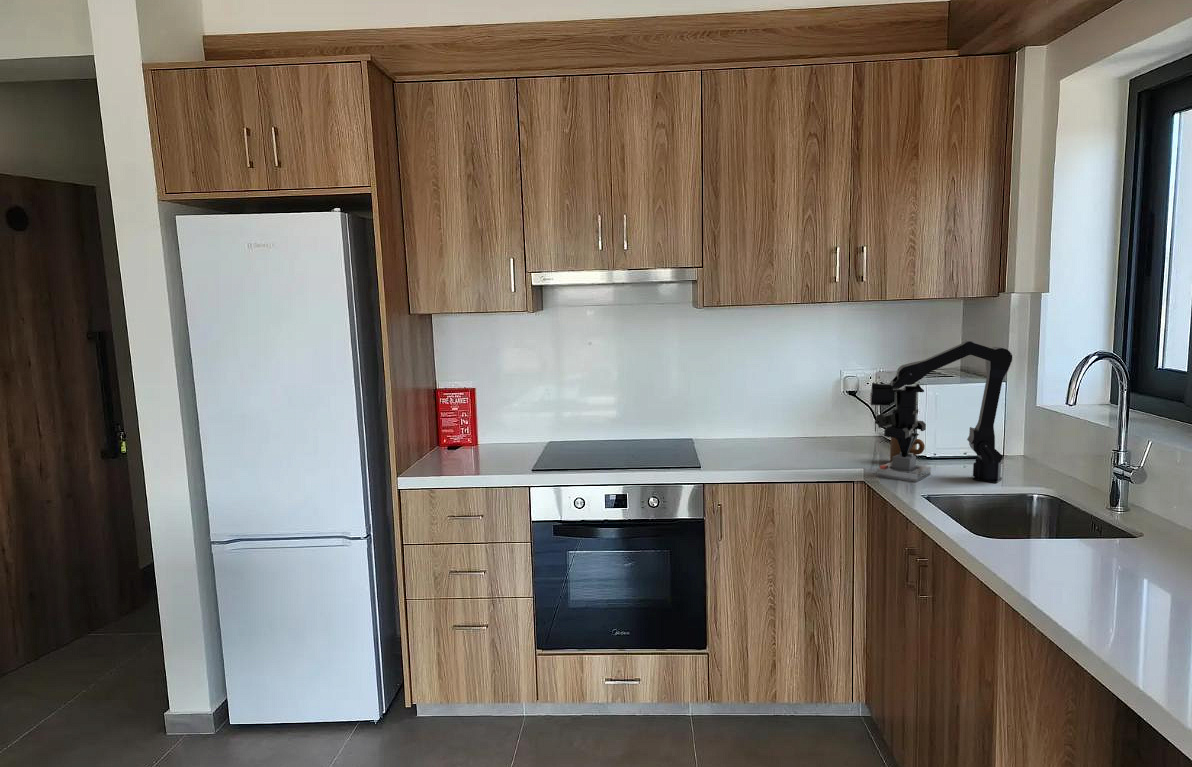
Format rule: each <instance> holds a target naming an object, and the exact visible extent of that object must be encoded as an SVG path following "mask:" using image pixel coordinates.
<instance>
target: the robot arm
mask: <svg viewBox="0 0 1192 767" xmlns="http://www.w3.org/2000/svg"><path fill="white" fill-rule="evenodd" d="M968 356H974V357H977V358H979V359H983V360H985V371H986V379H985V384H984V390H983V395H982V400H981V407H980V412H979V415H978V416H979V417H978V421H977V423H976V425H975V427H972V426H970V427H969V435H968V437H967V438H966V441H968V443H969V444H968V445H969V447H970V448H971V450H972V451H973V452H974V453H975V454H976V456H977V457H976V458H975V462H974V463H973V467H972V468H973V470H972V480H973V481H979V482H980V481H981V482H988V483H992V484H993V483H994V484H998V482H1000V481H1001V480H1003V477H1001V476H1002V474H1001V472H1002V470H1001V469H1002V460H1003V458H1004V456H1003V455H1002V454H1001V453H1000V451H998V450H997V449H996V446H995V445H996V436H995V435H996V434H995V427H994V425H995V420H996V415H997V410H998V405H999V402H1000V401H999V400H1000V395H1001V392H1002V391H1001V390H1002V385H1003V380H1004V378H1005V376H1006V375H1007V373H1008V371H1009V369H1010V367H1011V364H1012V362H1013V354H1012V353H1011V351H1010V350H1009V349H1007V348H1004V347H1001V346H994V347H989V346H985V345H981V344H978V343H976V342H974V341H971V340H965V341H963V342H961V343H960V344H958V345H955V346H953V347H951V348H949V349H946V350H944V351H942V352H940V353H936V354H934V355H932V356H930V357H928V358H926V359H922V360H918V361H913V362H909V363H905V364H901V365H900V366H899V367H898V368H897V371H896V374H895V377H894V378H893V379H892V380H890V382H889V383H877V382H872V383H871V389H870V392H869V393H870V394H869V396H870V397H869V398H870V400H869V401H870V402H869V403H870V406H887V407H890V406H891V405H892V404H893V403H895V409H892V413H890V414H887V415H885V414H884V413H881V414H877V415H876V418H875V422H874V423H875V424H876V425H877V426H878V429H882V428H883V427H886V428H885V429H884V431H883V437H886V438H891V437H893V438H896V439H897V440H898V443H899V446H900V450H901V454H902V456H903V457H906V456H907V455H908V453H909V451H910V449H911V447H912V445H913V443H914V442H915V440H916V439H918V436H920V434H919V433H915V430H920V432H924V431H926V426H927V424H926V423H925V422H924V421H923V420H917V414H919V410H920V409H917V399H918V393H924V392H925V390H924V389H923V387H921V385H920V384H919V383H917V382H919V381H920V380H922V379H923V378H925V377H926V376H927V375H928V374H930V373H931V372H934V371H935V370H938V369H940V368H943V367H945V366H947V365H950V364H952V363H953V362H957V361H959V360H961V359H963V358H966V357H968ZM914 384H915V385H914ZM895 394H896V396H895ZM895 397H896V398H895ZM895 400H896V402H895ZM890 425H891V426H890ZM887 426H888V427H887Z"/></svg>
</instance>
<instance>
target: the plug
mask: <svg viewBox="0 0 1192 767" xmlns="http://www.w3.org/2000/svg"><path fill="white" fill-rule="evenodd" d="M916 463H917V455H915V456H913V453H908V455H907V456H906V457H903V456H902V454H901V452H900V454H898V455H895V456H893V458H892V469H898V470H905V471H911V472H912V471H913V470H915V469H916V465H917V464H916Z"/></svg>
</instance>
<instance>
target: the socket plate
mask: <svg viewBox="0 0 1192 767" xmlns="http://www.w3.org/2000/svg"><path fill="white" fill-rule="evenodd" d="M931 469H932V467H931V466H926V465H919V464H916V469H915V470H913V471H912V472H911V471H905V470H898V469H892V462H888V463H885V464H882V465H881V464H880V466H879V467H876V477H882V478H885V479H887V478H888V479H894V480H901V481H906V482H913V483H918V482H920V481H922V480H923V479H926V478H927V477H929V476H931V472H932V470H931Z"/></svg>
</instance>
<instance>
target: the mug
mask: <svg viewBox="0 0 1192 767" xmlns="http://www.w3.org/2000/svg"><path fill="white" fill-rule="evenodd" d="M917 445H918V449H917V447H916V446H917ZM925 447H926V446H925V443H924V441H923V440H921V439H920V438H916V440H915V442H914V443H913V445H912V447H911V449H910V451H909V453H913V456H917V455H921V454H922V453H924V450H925ZM889 452H890V455H889V456H890V457H889V459H890V460H889V461H890V462H892V458H893V456H895V455H898V454H900V452H901V450H900V446H899V443H898V440H897V439H896V438H893V437H890V451H889Z"/></svg>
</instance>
